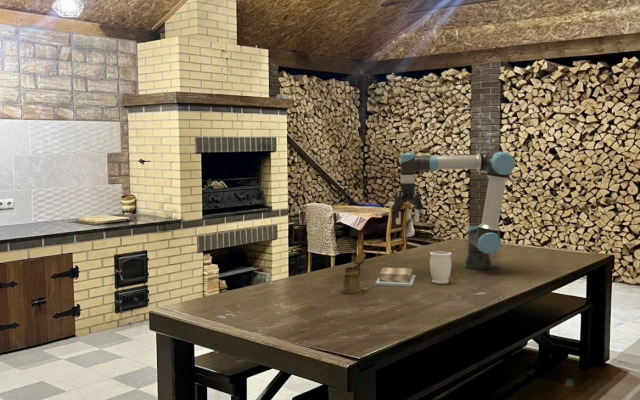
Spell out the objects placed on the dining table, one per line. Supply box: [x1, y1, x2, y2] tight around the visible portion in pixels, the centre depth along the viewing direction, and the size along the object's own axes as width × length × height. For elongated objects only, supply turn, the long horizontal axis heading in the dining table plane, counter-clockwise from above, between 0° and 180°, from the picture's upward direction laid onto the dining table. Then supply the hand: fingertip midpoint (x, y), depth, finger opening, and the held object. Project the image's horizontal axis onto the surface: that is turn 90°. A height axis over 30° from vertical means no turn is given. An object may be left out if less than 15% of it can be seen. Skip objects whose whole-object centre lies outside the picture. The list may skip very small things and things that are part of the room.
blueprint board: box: [374, 274, 417, 288], centre depth 338 cm, size 18×22×1 cm
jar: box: [429, 250, 452, 285], centre depth 334 cm, size 11×10×15 cm
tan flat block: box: [378, 267, 413, 283], centre depth 337 cm, size 15×15×4 cm
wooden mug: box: [341, 251, 367, 294], centre depth 317 cm, size 9×14×18 cm, turn 135°
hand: (407, 222), depth 353 cm, fingers open, 13 cm apart
